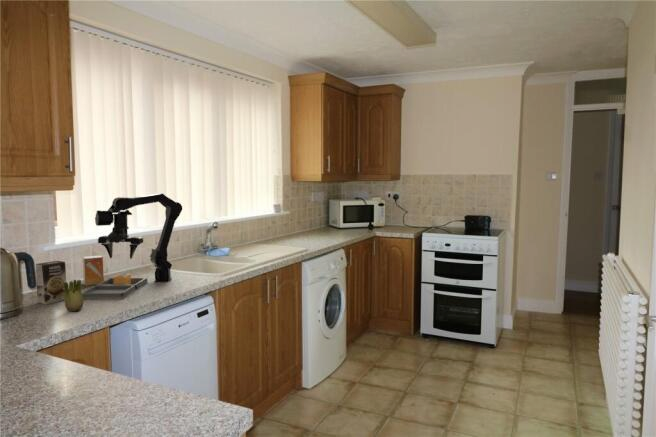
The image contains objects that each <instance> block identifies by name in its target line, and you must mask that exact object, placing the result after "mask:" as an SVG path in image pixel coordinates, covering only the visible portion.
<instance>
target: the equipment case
mask: <svg viewBox="0 0 656 437" xmlns="http://www.w3.org/2000/svg"><path fill="white" fill-rule="evenodd" d="M148 283H149V282H148V277H131V284H114V277H108V278H106V279H105V280H104V281H103V282H101V283H99V284H97V285H136V291H138V290H140V289H141V288H142V287H143V286H145V285H147V284H148ZM97 285H95V286H97Z"/></svg>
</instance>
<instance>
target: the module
mask: <svg viewBox="0 0 656 437" xmlns="http://www.w3.org/2000/svg"><path fill="white" fill-rule="evenodd" d="M131 276H132V275H131V273H127V272H126V273H118V274H116V275H114V276H113V278H114V284H132V283H131V278H132V277H131Z"/></svg>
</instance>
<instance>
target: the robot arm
mask: <svg viewBox="0 0 656 437" xmlns="http://www.w3.org/2000/svg"><path fill="white" fill-rule="evenodd" d="M153 203H155V204H156V203H159V204H160V205H162V207H164V208H165V220H164V224H163V227H162V231H161V234H160V237H159V241H158V243H157V246H156V248H155V249H154V248H151V253H150V255H149V258H150V263H152V264H153V265H154V267H155V271H154V282H169V281H171V280H172V279H173V278H172V276H171V275H172V274H171V268H172V266H173V264H172V263H171V262H169V260H168V246H169V243H170V240H171V237H172V233H173V230H174V227H175V223H176V220H177V219H178V218H179V217H180V215H181V214H182V211H183V205H182V204H181V202H177V201H175V200H173V199H172V198H170V197H168V196H166V194H164V193H160V192H158V193H155V194H154V193H153V194H150V195H143V196H135V197H124V196H123V197H122V196H121V197H120V196H119V197H115V198H114V199H113V200H112V202H111V206H110V207H109V208H108V209H107V210H96V213H95V217H94V221H95V225H96V226H97V227H99V226H100V227H101V226H111V225H112V224H113V227H112V231H111V232H110V233H109V234H107V235H102V236H99V237H98V238H97V244H100V245H101V246H103V247H104V248H105V249H106V251H107V254H108V256H109V259H112V258H113V245H114V244H115V243H116V244H119V243H130V244H129V247H130V248H129V250H130V251H129V259H133V257H134V255H135V251H136V250H137V248H138V246H140V245H141V244H143V243H144V238H143V237H142V236H132V237H129V236H130V235H129V234H128V230H129V226H128V216H132V215H133V213H132V212H130V210H129V209H131V208H134V207H136V206H142V205H147V204H153ZM113 243H114V244H113Z"/></svg>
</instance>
